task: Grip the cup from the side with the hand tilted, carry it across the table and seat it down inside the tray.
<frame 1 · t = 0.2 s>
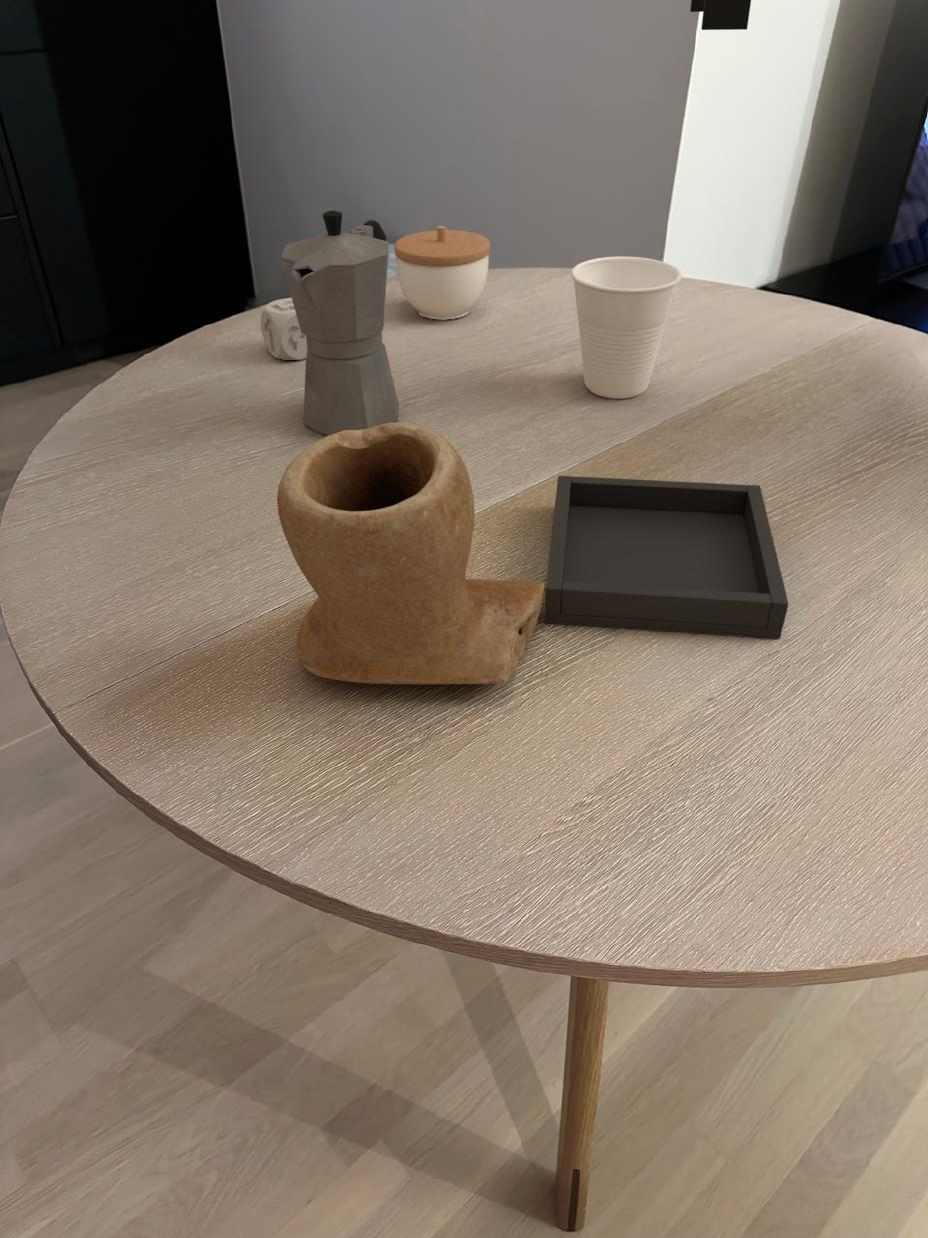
hand: (715, 20, 63), 31 cm above the table, tool pointing down, fingers open, 13 cm apart
die: (295, 354, 99), on the table
stone cup: (419, 661, 58), on the table
cup: (615, 389, 91), on the table
trinket box: (444, 313, 109), on the table
coffeepot: (357, 413, 87), on the table
tray: (656, 566, 66), on the table
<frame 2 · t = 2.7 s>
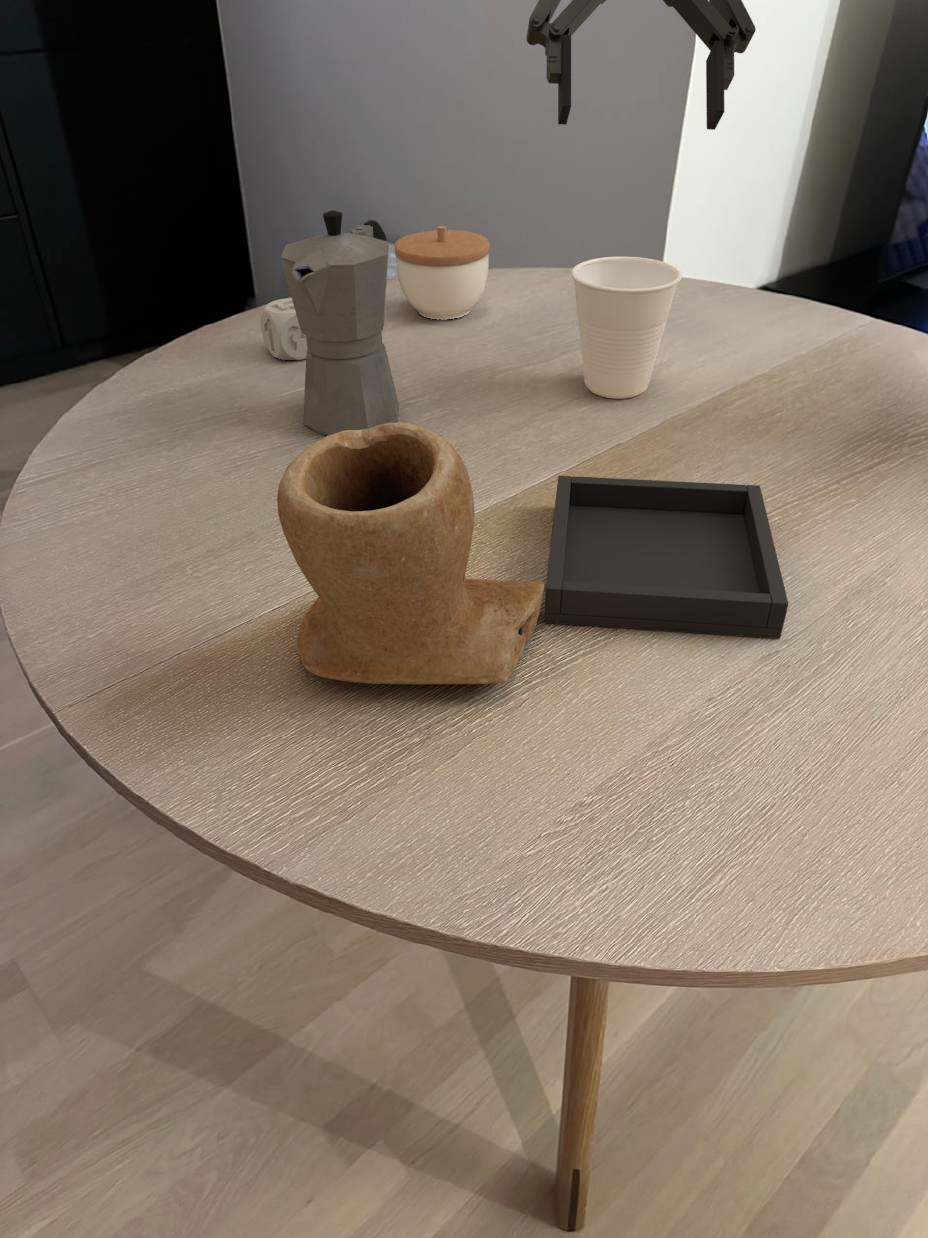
hand: (640, 118, 83), 22 cm above the table, tool tilted 40°, fingers open, 13 cm apart
nothing on the table moved.
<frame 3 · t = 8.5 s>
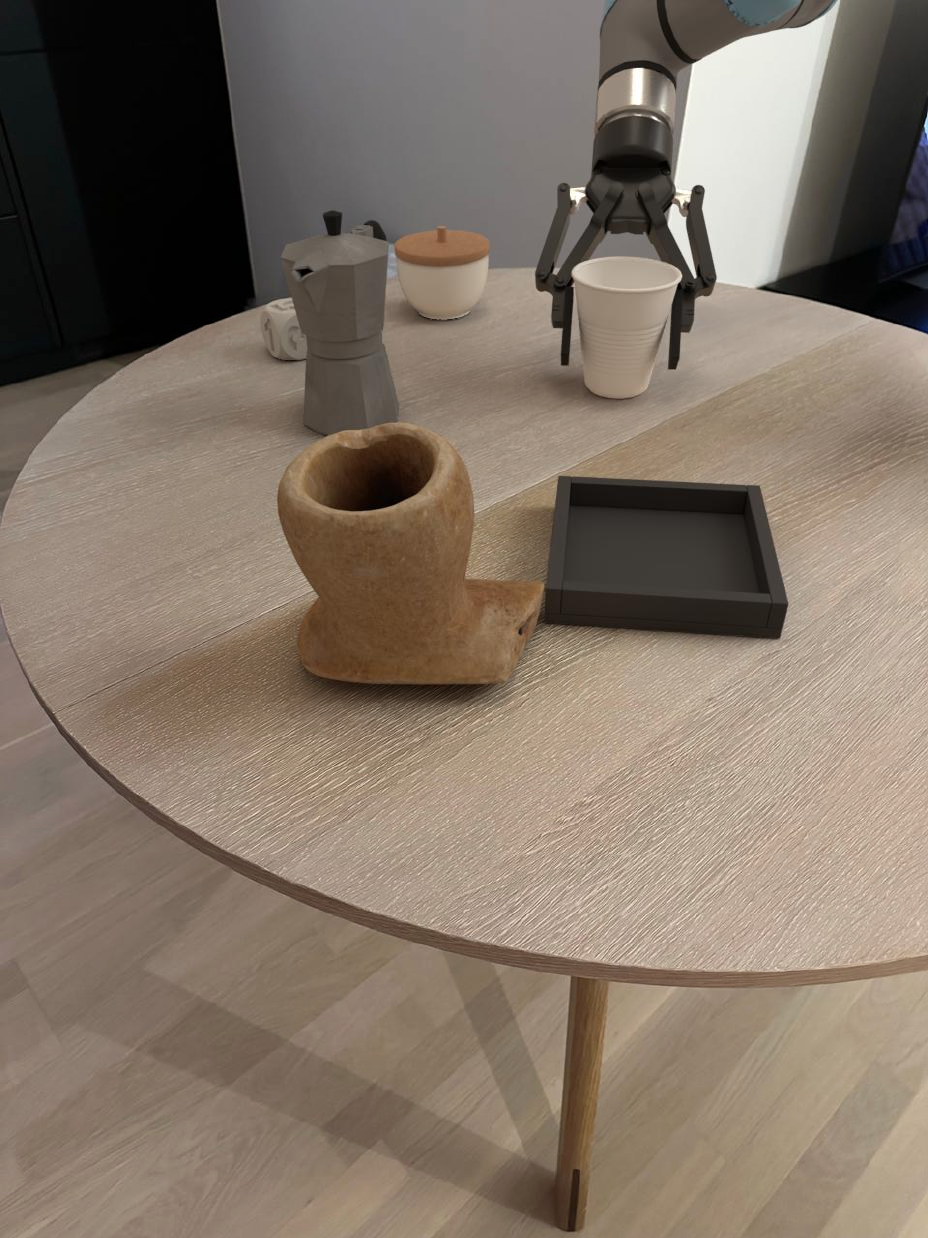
hand: (618, 361, 86), 4 cm above the table, tool tilted 45°, fingers closed on cup, 9 cm apart
cup: (615, 388, 91), on the table, touching gripper
everything else where it was.
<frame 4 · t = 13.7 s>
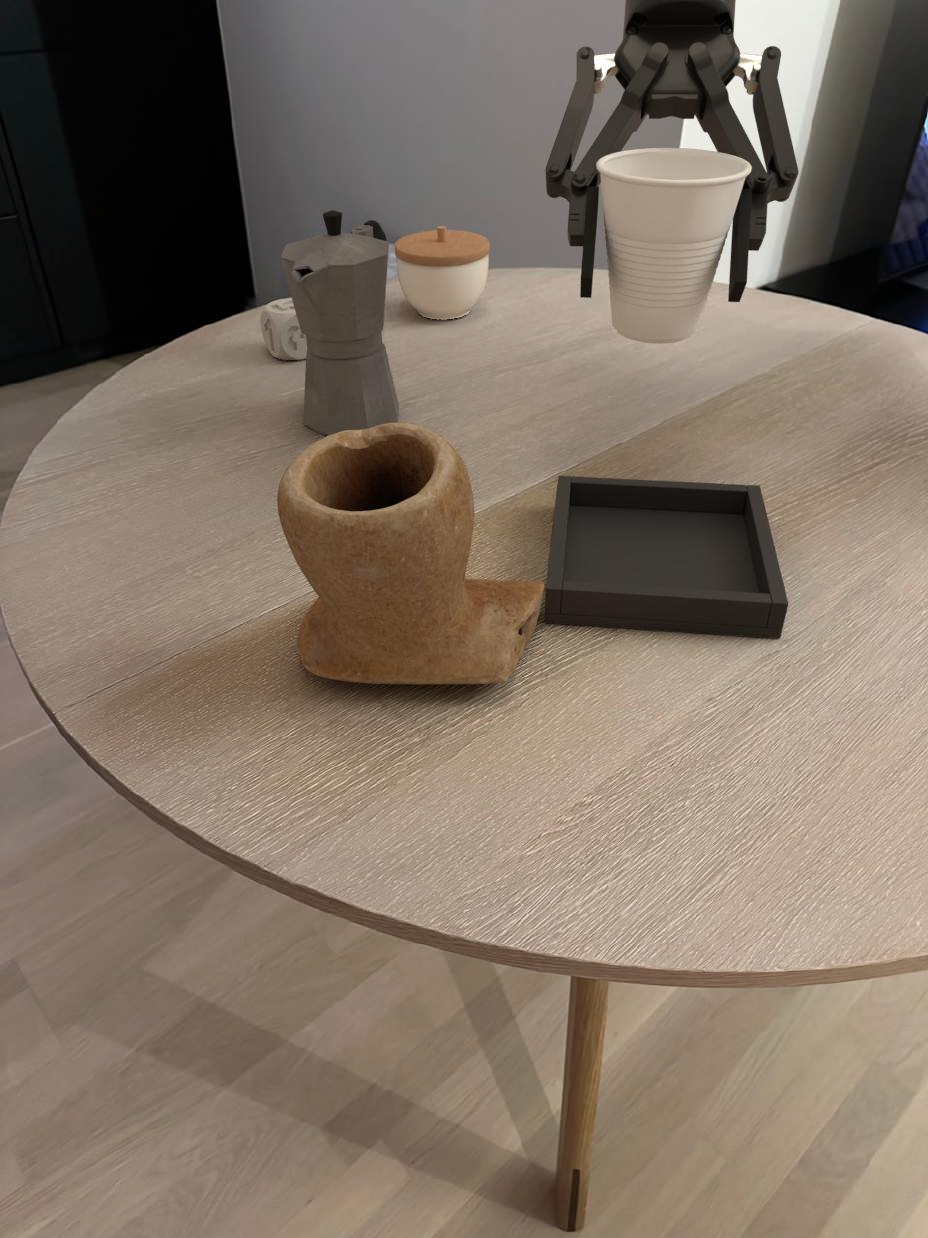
hand: (661, 289, 62), 17 cm above the table, tool tilted 45°, fingers closed on cup, 9 cm apart
cup: (654, 332, 67), point 13 cm above the table, touching gripper
everything else where it was.
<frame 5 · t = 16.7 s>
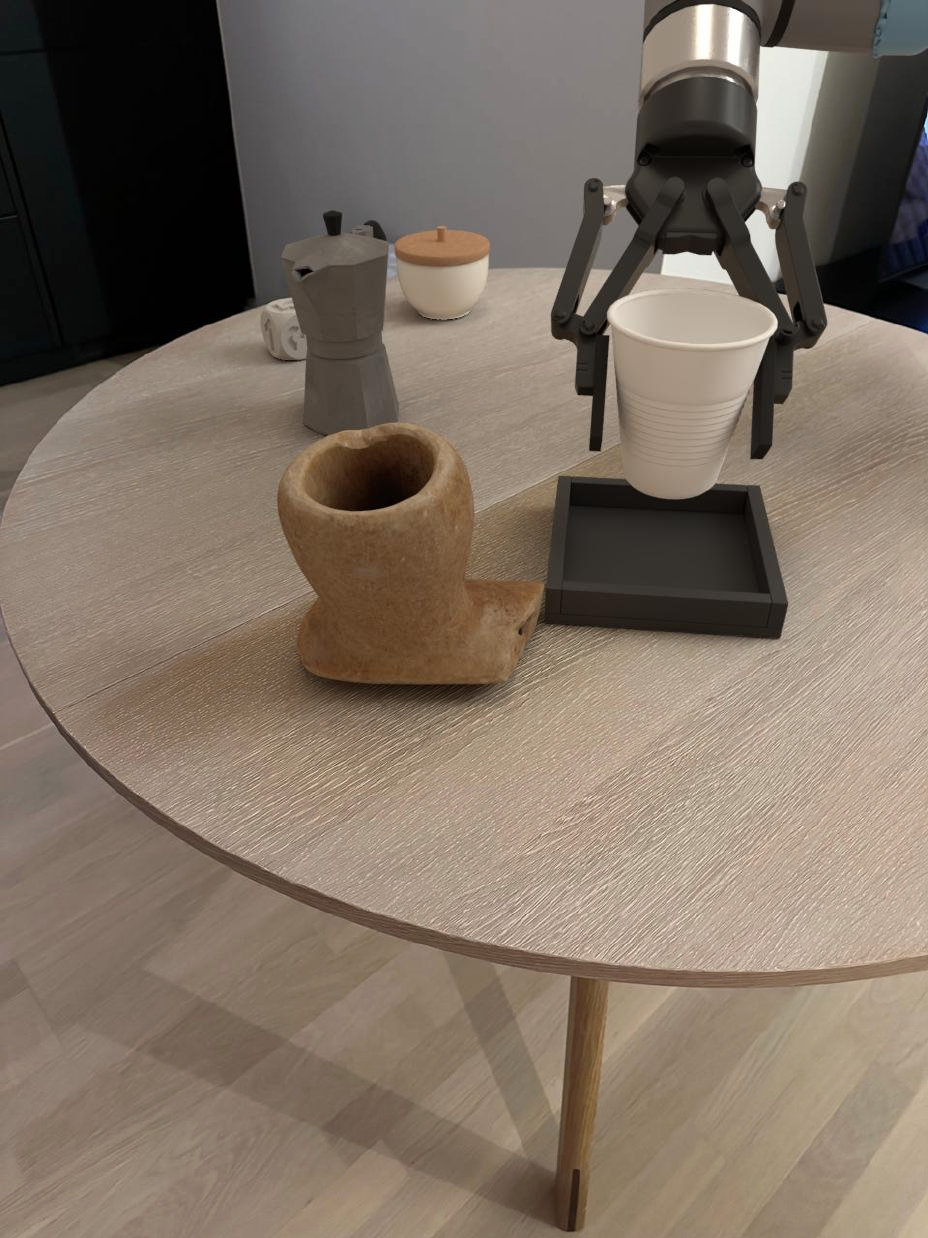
hand: (677, 448, 57), 11 cm above the table, tool tilted 45°, fingers closed on cup, 9 cm apart
cup: (668, 481, 62), point 7 cm above the table, touching gripper
everything else where it was.
when the fingers open (5 cm above the table, at t = 19.0 s): cup stays where it is, resting on tray.
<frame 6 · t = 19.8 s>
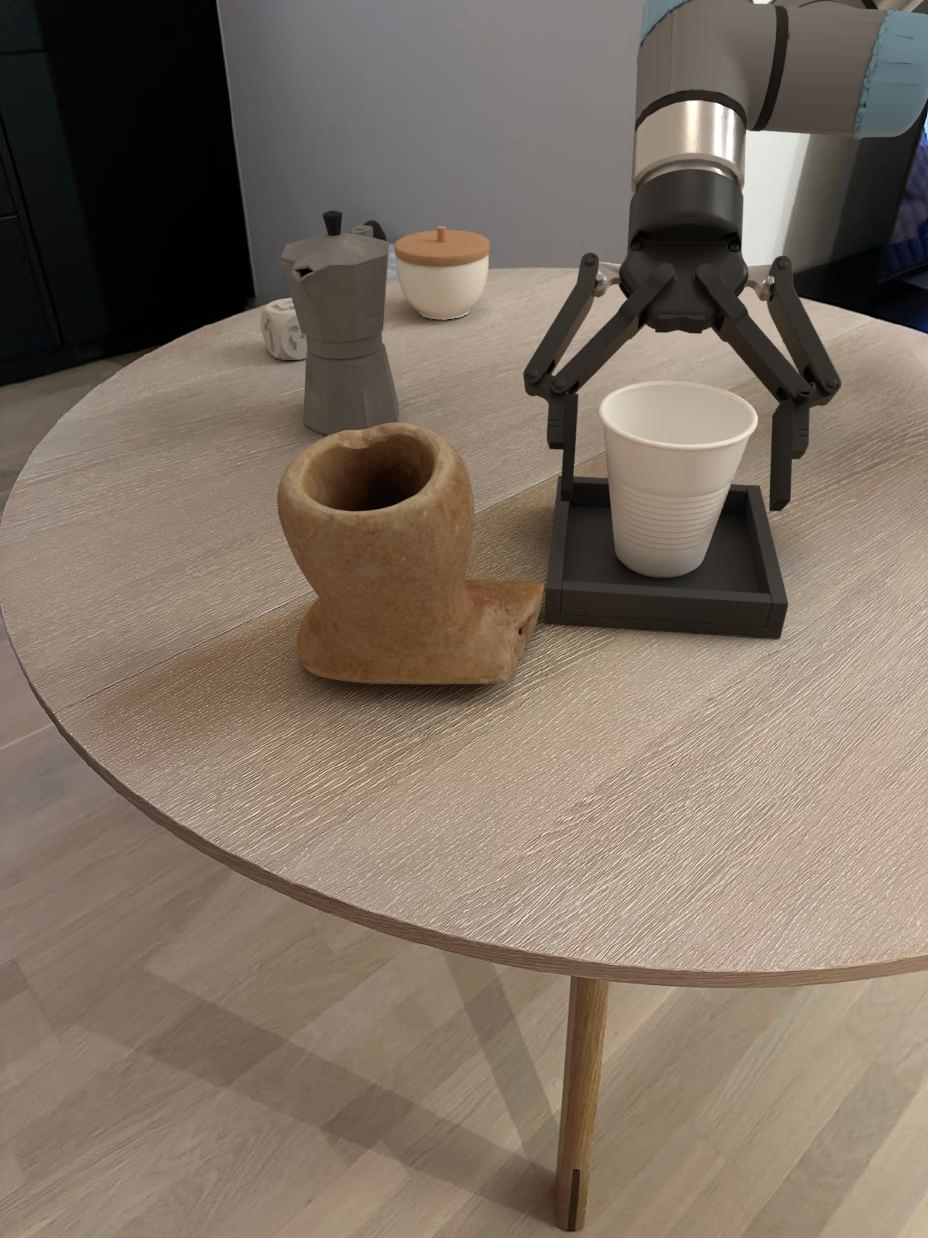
hand: (671, 501, 60), 6 cm above the table, tool tilted 45°, fingers open, 13 cm apart
cup: (658, 558, 65), point 1 cm above the table, touching tray
everything else where it was.
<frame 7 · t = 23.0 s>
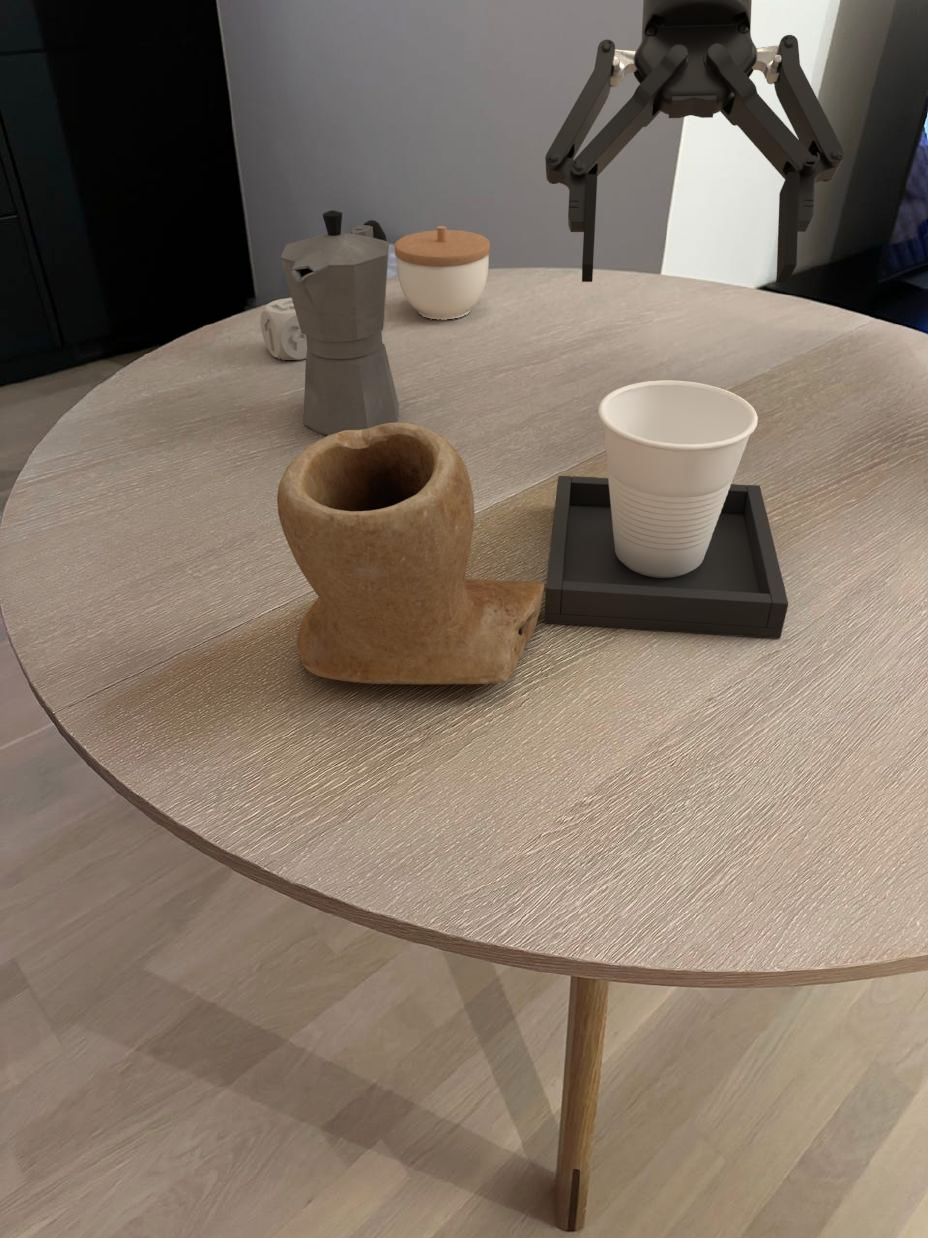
hand: (685, 274, 65), 17 cm above the table, tool tilted 40°, fingers open, 13 cm apart
nothing on the table moved.
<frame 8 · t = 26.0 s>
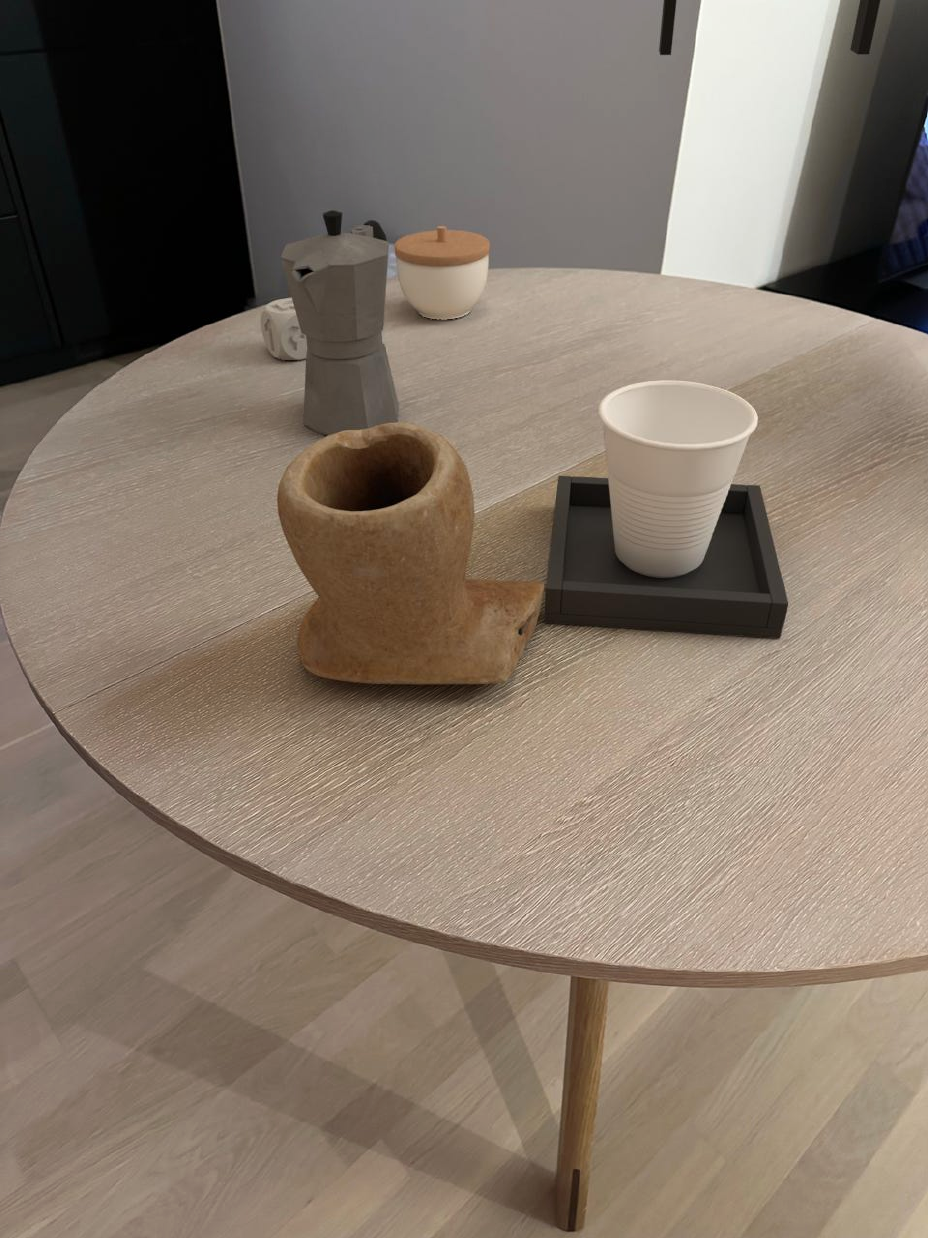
hand: (760, 52, 67), 29 cm above the table, tool pointing down, fingers open, 13 cm apart
nothing on the table moved.
at the end: cup 0.1 cm off-centre in the tray, point 0.6 cm above the tray's base; cup tilted 0°; the gripper is holding nothing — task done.
